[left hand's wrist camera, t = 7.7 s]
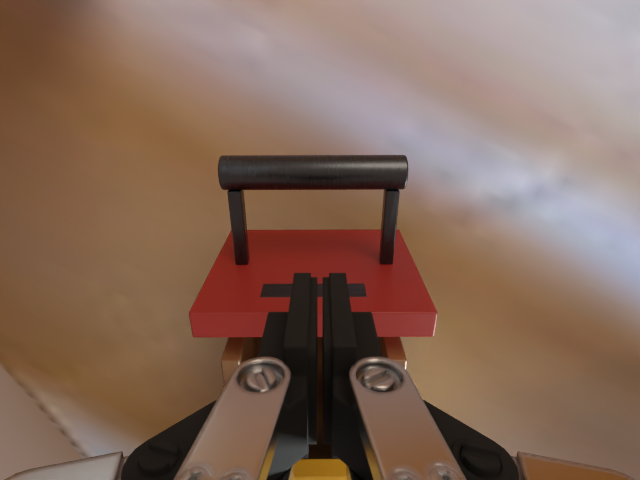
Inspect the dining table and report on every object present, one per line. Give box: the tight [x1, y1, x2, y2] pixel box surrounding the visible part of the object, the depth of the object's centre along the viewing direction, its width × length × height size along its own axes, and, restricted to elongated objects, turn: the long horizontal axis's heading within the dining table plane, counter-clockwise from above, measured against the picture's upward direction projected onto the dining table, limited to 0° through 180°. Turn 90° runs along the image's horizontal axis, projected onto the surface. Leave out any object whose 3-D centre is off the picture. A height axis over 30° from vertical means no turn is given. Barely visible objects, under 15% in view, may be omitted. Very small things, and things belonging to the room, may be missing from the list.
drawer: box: [189, 155, 437, 459], centre depth 21 cm, size 24×10×8 cm, turn 0°
